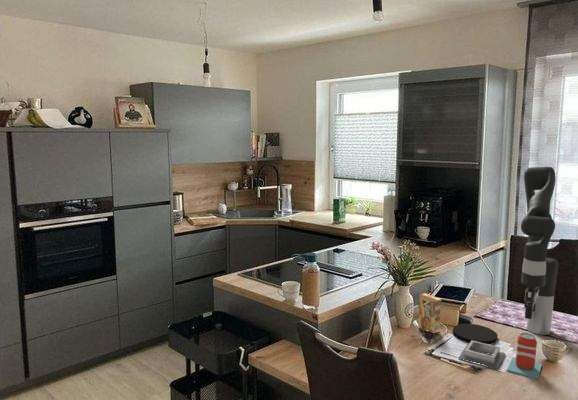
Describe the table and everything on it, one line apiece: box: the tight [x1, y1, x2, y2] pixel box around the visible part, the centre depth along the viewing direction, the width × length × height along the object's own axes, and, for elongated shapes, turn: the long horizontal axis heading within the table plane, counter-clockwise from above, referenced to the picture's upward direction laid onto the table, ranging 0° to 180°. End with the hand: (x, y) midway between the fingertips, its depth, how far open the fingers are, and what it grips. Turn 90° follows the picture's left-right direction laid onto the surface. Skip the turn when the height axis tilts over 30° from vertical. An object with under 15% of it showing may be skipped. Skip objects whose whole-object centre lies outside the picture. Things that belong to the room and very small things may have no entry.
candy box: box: [417, 293, 442, 333], centre depth 207 cm, size 9×4×15 cm, turn 34°
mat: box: [506, 356, 543, 380], centre depth 175 cm, size 12×10×1 cm
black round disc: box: [452, 323, 498, 345], centre depth 203 cm, size 18×18×2 cm
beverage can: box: [515, 332, 538, 370], centre depth 174 cm, size 6×6×12 cm
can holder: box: [458, 340, 506, 371], centre depth 183 cm, size 14×14×4 cm
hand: (529, 314), depth 172 cm, fingers open, 8 cm apart
